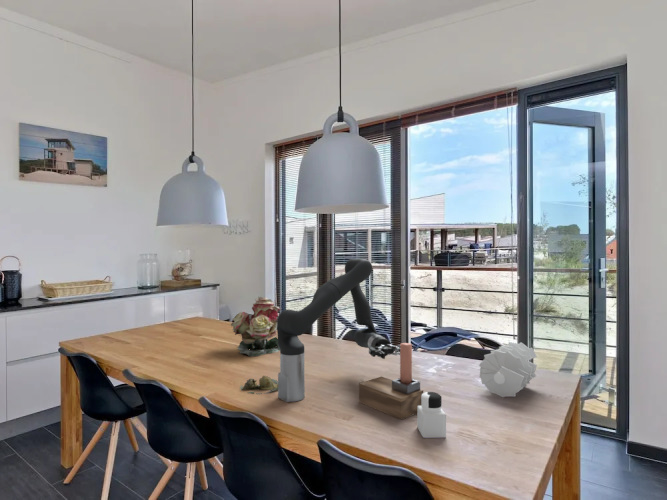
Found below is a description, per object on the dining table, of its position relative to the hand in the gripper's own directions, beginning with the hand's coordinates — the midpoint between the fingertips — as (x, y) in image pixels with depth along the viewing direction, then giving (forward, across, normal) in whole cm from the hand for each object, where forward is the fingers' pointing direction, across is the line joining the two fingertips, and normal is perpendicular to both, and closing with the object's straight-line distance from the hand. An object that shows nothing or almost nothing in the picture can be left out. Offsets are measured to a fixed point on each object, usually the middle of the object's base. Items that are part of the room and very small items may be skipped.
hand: (394, 355), depth 151 cm
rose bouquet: (-86, -44, +17) cm, 98 cm away
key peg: (+10, 0, +10) cm, 14 cm away
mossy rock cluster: (-27, -47, +17) cm, 57 cm away
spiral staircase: (+3, +48, +17) cm, 51 cm away
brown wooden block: (+6, -4, +16) cm, 18 cm away
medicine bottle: (+28, 0, +17) cm, 33 cm away
